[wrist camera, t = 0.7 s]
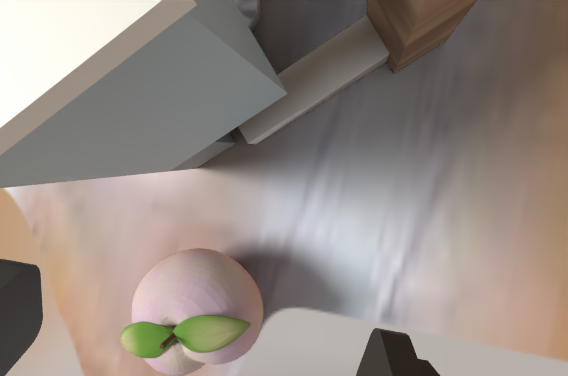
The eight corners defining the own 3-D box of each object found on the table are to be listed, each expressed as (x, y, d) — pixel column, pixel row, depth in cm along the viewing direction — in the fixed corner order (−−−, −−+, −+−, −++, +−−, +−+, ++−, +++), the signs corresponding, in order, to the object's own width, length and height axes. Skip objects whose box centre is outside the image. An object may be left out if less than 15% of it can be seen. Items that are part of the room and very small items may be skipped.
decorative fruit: (253, 219, 31) (203, 251, 21) (289, 312, 31) (257, 387, 21) (156, 255, 33) (70, 300, 23) (191, 343, 33) (120, 424, 23)
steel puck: (200, -18, 30) (191, -28, 28) (261, -25, 29) (255, -35, 27) (202, 47, 30) (194, 41, 29) (262, 42, 29) (257, 36, 28)
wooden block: (444, 41, 27) (548, -94, 12) (263, 154, 30) (170, 158, 15) (416, -7, 27) (483, -201, 12) (238, 111, 30) (121, 73, 15)
